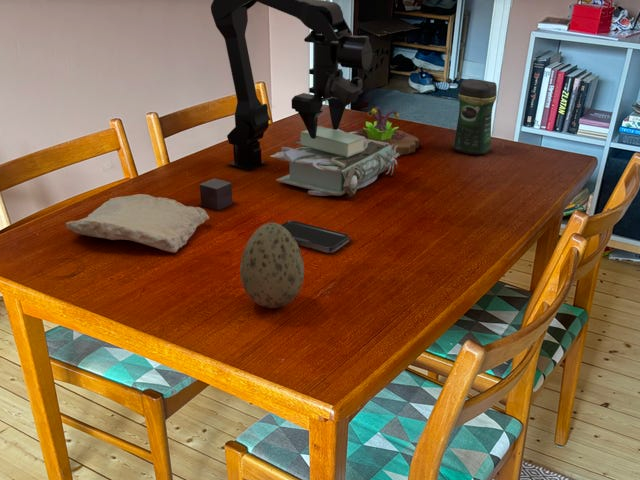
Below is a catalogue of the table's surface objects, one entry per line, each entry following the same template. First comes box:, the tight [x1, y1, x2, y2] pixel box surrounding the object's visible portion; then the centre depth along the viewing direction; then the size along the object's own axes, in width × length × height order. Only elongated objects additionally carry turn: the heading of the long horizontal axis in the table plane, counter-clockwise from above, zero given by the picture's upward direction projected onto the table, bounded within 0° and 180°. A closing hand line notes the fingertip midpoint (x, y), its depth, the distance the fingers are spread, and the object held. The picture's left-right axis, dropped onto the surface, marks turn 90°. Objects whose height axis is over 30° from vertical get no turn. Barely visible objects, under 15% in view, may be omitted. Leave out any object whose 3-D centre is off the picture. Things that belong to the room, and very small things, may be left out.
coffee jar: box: [453, 78, 498, 156], centre depth 198 cm, size 10×8×19 cm
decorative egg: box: [239, 222, 305, 309], centre depth 125 cm, size 11×11×15 cm
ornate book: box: [270, 128, 401, 198], centre depth 181 cm, size 23×10×30 cm
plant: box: [352, 106, 420, 157], centre depth 201 cm, size 20×20×11 cm
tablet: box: [65, 193, 210, 254], centre depth 151 cm, size 24×8×20 cm
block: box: [199, 178, 234, 211], centre depth 166 cm, size 5×5×5 cm
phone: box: [280, 220, 350, 254], centre depth 152 cm, size 8×1×15 cm
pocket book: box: [300, 125, 365, 157], centre depth 175 cm, size 14×7×3 cm, turn 52°
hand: (324, 133), depth 176 cm, fingers open, 9 cm apart
